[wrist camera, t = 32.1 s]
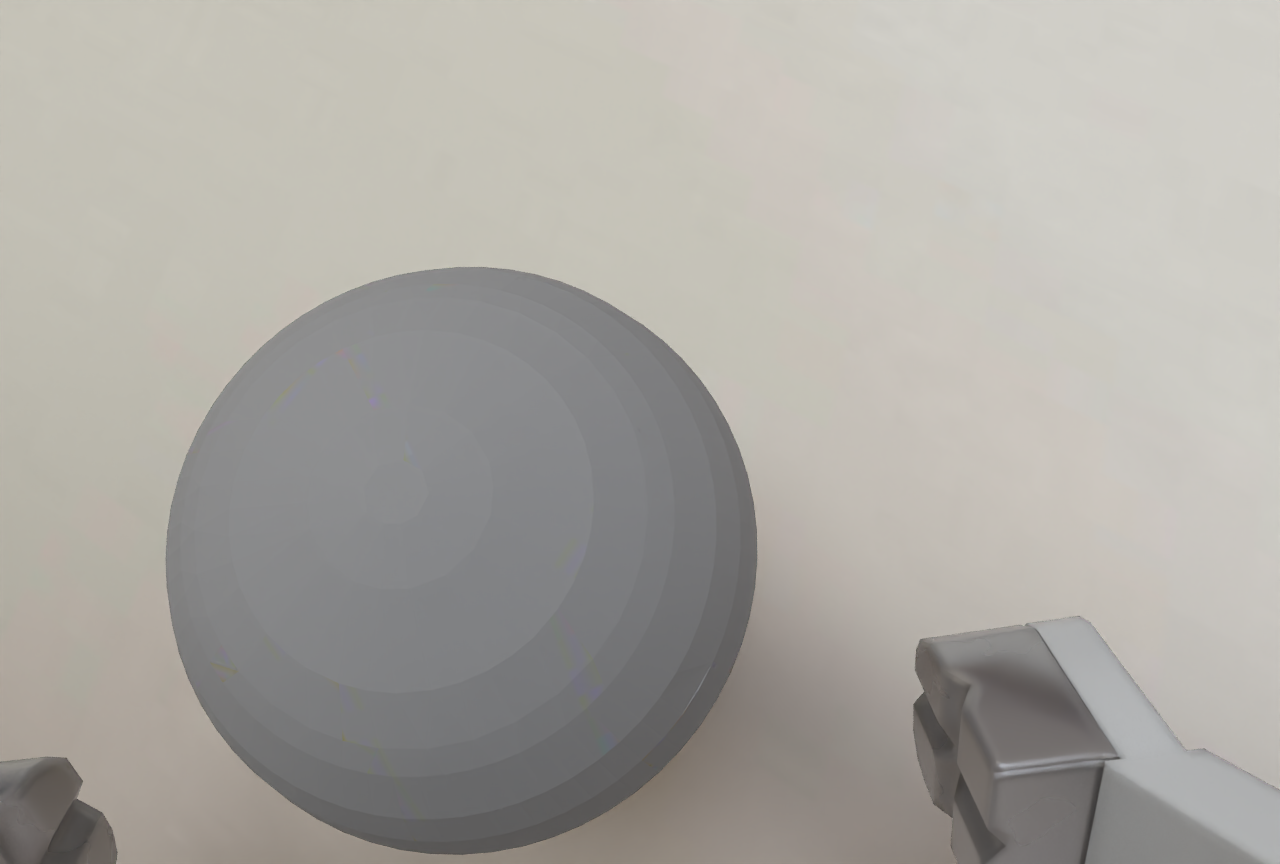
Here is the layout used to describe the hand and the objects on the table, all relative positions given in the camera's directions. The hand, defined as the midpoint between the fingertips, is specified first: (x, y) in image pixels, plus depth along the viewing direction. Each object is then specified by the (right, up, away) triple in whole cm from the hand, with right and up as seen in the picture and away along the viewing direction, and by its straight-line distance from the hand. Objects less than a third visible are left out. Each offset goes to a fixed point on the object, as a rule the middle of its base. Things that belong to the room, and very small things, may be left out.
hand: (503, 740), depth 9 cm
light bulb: (0, 0, +7) cm, 7 cm away
